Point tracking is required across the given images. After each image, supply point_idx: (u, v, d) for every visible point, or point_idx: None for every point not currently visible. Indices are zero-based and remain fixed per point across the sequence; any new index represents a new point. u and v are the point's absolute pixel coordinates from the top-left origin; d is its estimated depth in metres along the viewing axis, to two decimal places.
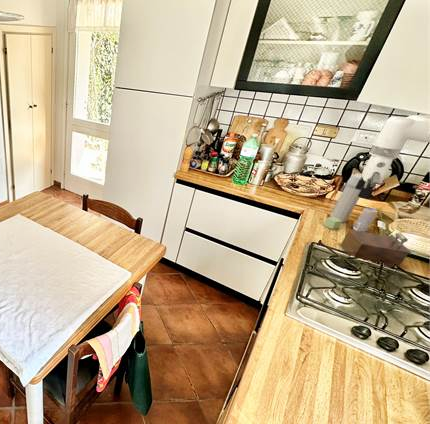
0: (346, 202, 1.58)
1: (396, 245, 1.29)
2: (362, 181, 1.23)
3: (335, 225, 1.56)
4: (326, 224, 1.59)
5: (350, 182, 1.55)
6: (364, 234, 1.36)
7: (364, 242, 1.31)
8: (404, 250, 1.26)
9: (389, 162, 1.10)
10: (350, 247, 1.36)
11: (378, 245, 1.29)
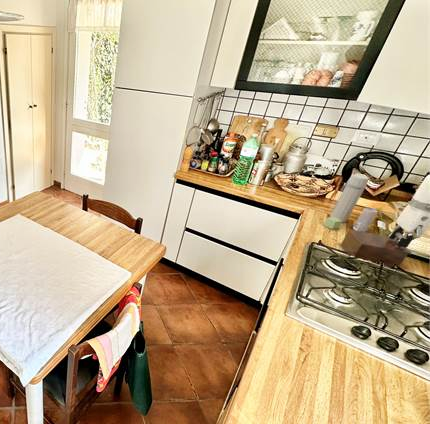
0: (346, 202, 1.58)
1: (396, 245, 1.29)
2: (397, 232, 1.30)
3: (335, 225, 1.56)
4: (326, 224, 1.59)
5: (350, 182, 1.55)
6: (364, 234, 1.36)
7: (364, 242, 1.31)
8: (404, 250, 1.26)
9: None
10: (350, 247, 1.36)
11: (378, 245, 1.29)
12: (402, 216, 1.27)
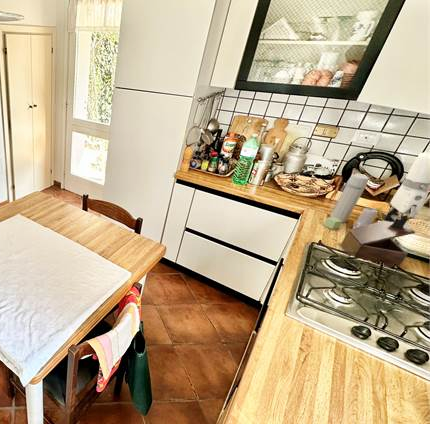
0: (346, 202, 1.58)
1: (398, 228, 1.26)
2: (391, 214, 1.28)
3: (335, 225, 1.56)
4: (326, 224, 1.59)
5: (350, 182, 1.55)
6: (364, 229, 1.35)
7: (363, 240, 1.30)
8: (407, 231, 1.23)
9: (426, 195, 1.16)
10: (350, 247, 1.36)
11: (378, 237, 1.27)
12: (396, 197, 1.25)
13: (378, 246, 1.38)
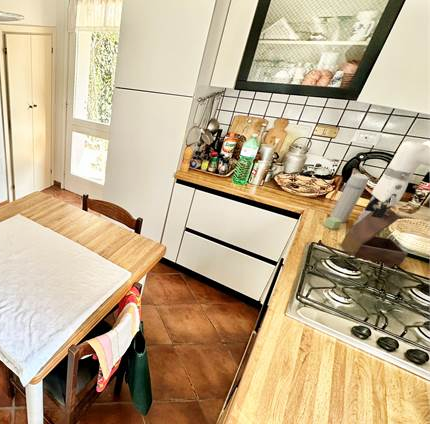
0: (346, 202, 1.58)
1: (386, 216, 1.26)
2: (372, 203, 1.29)
3: (335, 225, 1.56)
4: (326, 224, 1.59)
5: (350, 182, 1.55)
6: (360, 225, 1.35)
7: (361, 239, 1.30)
8: (393, 217, 1.22)
9: (406, 184, 1.17)
10: (350, 247, 1.36)
11: (372, 232, 1.27)
12: (377, 186, 1.26)
13: (378, 246, 1.38)
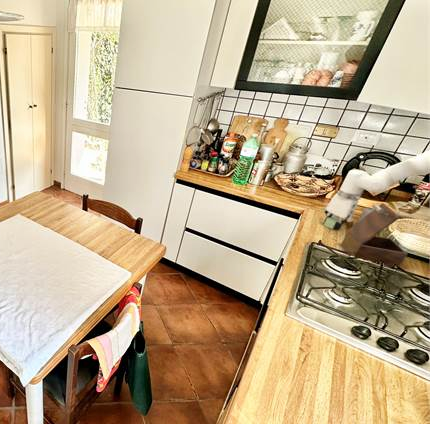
0: None
1: (385, 216, 1.26)
2: None
3: None
4: (326, 224, 1.59)
5: None
6: (360, 225, 1.35)
7: (361, 239, 1.30)
8: (393, 217, 1.22)
9: (357, 203, 1.48)
10: (350, 247, 1.36)
11: (372, 232, 1.27)
12: (333, 205, 1.55)
13: (378, 246, 1.38)
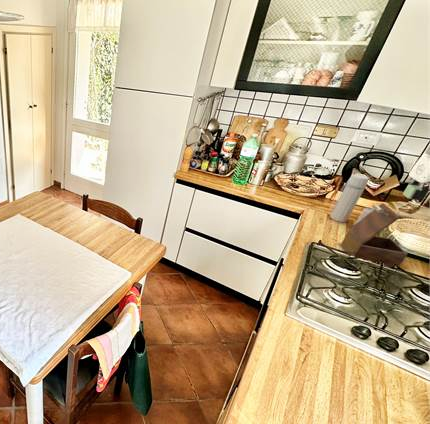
0: (346, 202, 1.58)
1: (385, 216, 1.26)
2: None
3: None
4: None
5: (350, 182, 1.55)
6: (360, 225, 1.35)
7: (361, 239, 1.30)
8: (393, 217, 1.22)
9: None
10: (350, 247, 1.36)
11: (372, 232, 1.27)
12: None
13: (378, 246, 1.38)
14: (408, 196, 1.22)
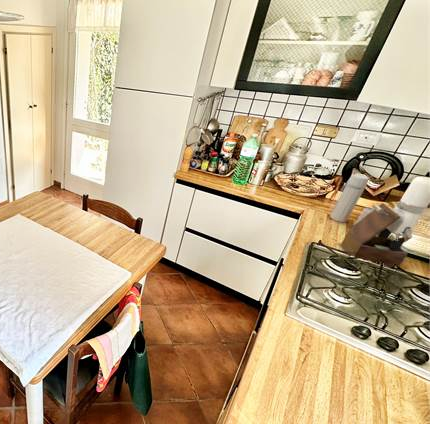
0: (346, 202, 1.58)
1: (385, 216, 1.26)
2: None
3: None
4: None
5: (350, 182, 1.55)
6: (360, 225, 1.35)
7: (361, 239, 1.30)
8: (393, 217, 1.22)
9: None
10: (350, 247, 1.36)
11: (372, 232, 1.27)
12: None
13: None
14: None
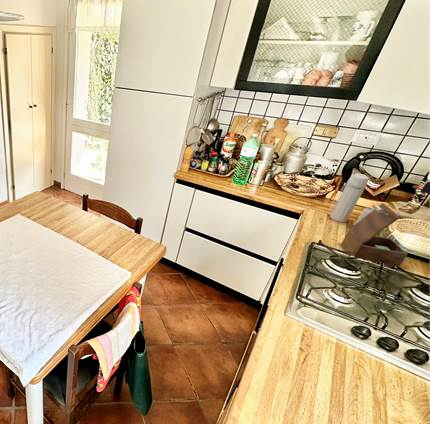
0: (346, 202, 1.58)
1: (385, 216, 1.26)
2: None
3: None
4: None
5: (350, 182, 1.55)
6: (360, 225, 1.35)
7: (361, 239, 1.30)
8: (393, 217, 1.22)
9: None
10: (350, 247, 1.36)
11: (372, 232, 1.27)
12: None
13: None
14: None
